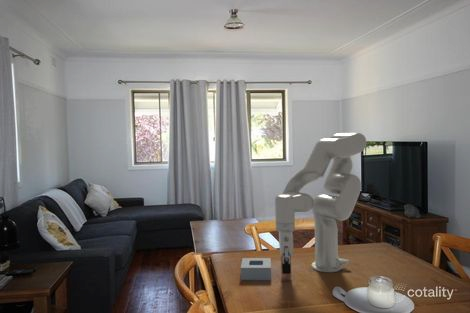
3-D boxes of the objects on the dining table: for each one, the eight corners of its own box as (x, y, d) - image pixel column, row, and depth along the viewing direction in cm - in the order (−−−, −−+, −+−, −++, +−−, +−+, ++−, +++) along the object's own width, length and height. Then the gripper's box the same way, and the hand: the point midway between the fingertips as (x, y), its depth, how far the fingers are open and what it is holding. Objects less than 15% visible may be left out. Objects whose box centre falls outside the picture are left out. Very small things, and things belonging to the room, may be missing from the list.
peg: (290, 277, 155) (290, 253, 154) (291, 281, 151) (291, 256, 150) (280, 277, 155) (280, 253, 155) (281, 281, 151) (280, 256, 151)
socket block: (270, 269, 164) (270, 258, 164) (271, 280, 152) (270, 267, 152) (242, 269, 165) (242, 258, 165) (241, 280, 153) (240, 267, 153)
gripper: (296, 231, 143) (297, 278, 144) (293, 221, 160) (293, 262, 161) (276, 231, 143) (277, 277, 144) (275, 221, 161) (275, 262, 162)
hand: (285, 269), depth 153 cm, fingers open, 7 cm apart
